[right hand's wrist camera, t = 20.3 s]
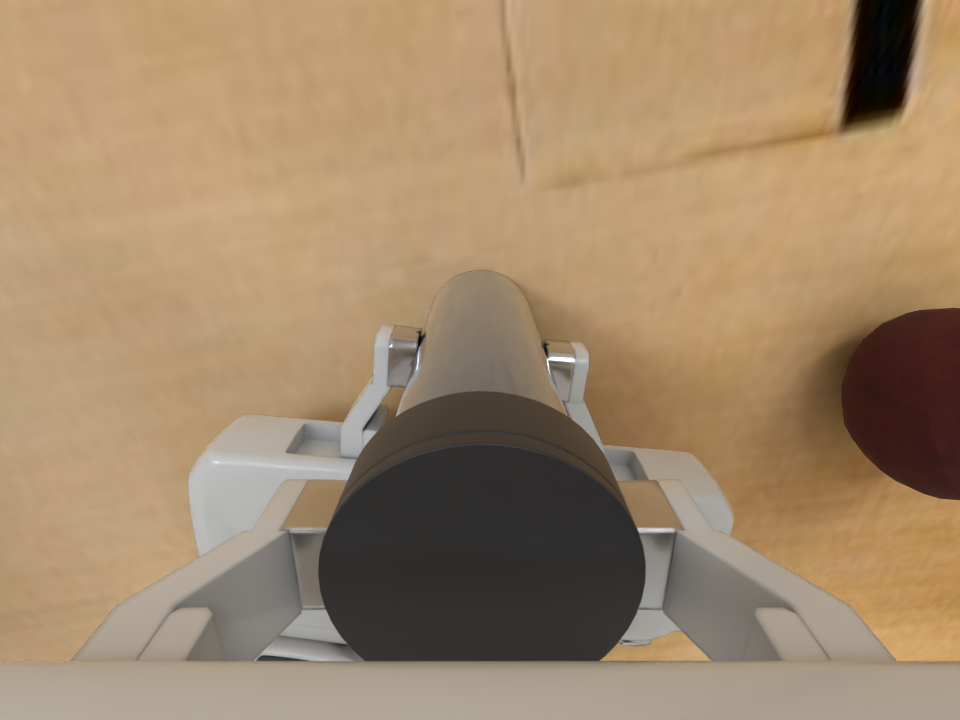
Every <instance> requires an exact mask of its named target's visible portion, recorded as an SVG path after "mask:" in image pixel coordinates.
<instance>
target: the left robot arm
mask: <svg viewBox="0 0 960 720" xmlns="http://www.w3.org/2000/svg"><path fill="white" fill-rule="evenodd" d="M421 338H422V328H414V327H405V326H396V325H386V324H382V325H381V326H380V328H379V330H378V331H377V333H376V338H375V344H374V368H373V375H372V377H371V378H370V380H369V381H368V382H367V384H366V385H365V387H364V388H363V390H362V391H361V393H360V394H359V396H358V397H357V398H356V400H355V401H354V403H353V405H352V407H351V409H350V411H349V412H348V414H347V416H346V418H345V420H344V422H335V421H323V420H312V419H300V418H288V417H276V416H266V415H256V414H247V415H243V416H241V417H239V418H237V419H236V420H235V421H233V422H232V423H231V424H230V425H229V426H228V427H227V428H226V429H224V430H223V431H222V432H221V433H220V434H219V435H218V436H217V437H216V438H215V439H214V440H213V441H212V442H211V443H210V444H209V445H208V446H207V447H206V449H205V450H204V451H203V452H202V453H201V455H200V456H199V457H198V459H197V460H196V462H195V463H194V465H193V467H192V469H191V471H190V474H189V479H188V496H189V505H190V512H191V519H192V525H193V530H194V535H195V541H196V545H197V550H198V554H199V556H201V555H203V554H204V553H206V552H208V551H210V550H211V549H213V548H215V547H216V546H218V545H220V544H222V543H223V542H225V541H227V540H228V539H230V538H232V537H233V536H235V535H237V534H239V533H240V532H242V531H251V530H252V528H253V527H254V525H255V523H256V522H257V520H258V519H259V517H260V516H261V514H262V512H263V511H264V509H265V508H266V506H267V504H268V503H269V501H270V500H271V498H272V496H273V495H274V493H275V492H276V490H277V488H278V487H279V485H280V484H281V482H282V481H284V480H287V479H309V480H311V479H321V480H348V478H349V476H350V474H351V471H352V469H353V466H354V464H355V462H356V460H357V458H358V456H359V455H360V453H361V451H362V450H363V448H364V447H365V445H366V444H367V443H368V442H369V440H370V439H371V438H372V437H373V436H374V435H375V433H376V432H378V431H379V430H380V429H381V428H382V427H383V426H384V425H385V424H386V423H388V418H389V408H388V407H387V406H386V405H380V403H381V402H382V400H383V399H384V397H385V396H386V395H387V393H388V392H389V390H390V389H391V387H392V386H393V387H405V385H406V383H407V380H408V377H409V374H410V371H411V368H412V365H413V362H414V359H415V356H416V353H417V350H418V347H419V344H420V341H421ZM542 344H543V347H544V350H545V353H546V356H547V359H548V362H549V364H550V367H551V370H552V373H553V376H554V379H555V382H556V384H557V387H558V390H559V393H560V396H561V399H562V401H563V402H564V404H565V406H566V409H567V411H568V413H569V416H570V418H571V419H572V420H573V421H574V422H576V423H577V424H578V425H580V426H581V427H582V428H583V429H584V430H585V431H586V432H587V433H588V434H589V435H590V436H591V437H592V438H593V439H594V441H595V442H596V443H597V445H598V446H599V448H600V449H601V450H602V452H603V453H604V455H605V457H606V459H607V461H608V463H609V465H610V467H611V469H612V472H613V474H614V476H615V478H616V481H633V480H659V479H679V480H681V481H682V482H683V484H684V485H685V487H686V488H687V490H688V491H689V493H690V494H691V496H692V497H693V499H694V501H695V502H696V504H697V505H698V507H699V508H700V510H701V511H702V513H703V514H704V516H705V517H706V519H707V521H708V522H709V524H710V525H711V527H712V528H713V530H714V531H723V532H725V533H727V534H728V535H730V534H731V531H732V528H733V524H734V514H733V510H732V508H731V505H730V503H729V501H728V499H727V497H726V496H725V494H724V492H723V491H722V489H721V488H720V486H719V485H718V483H717V482H716V480H715V479H714V478H713V476H712V475H711V474H710V473H709V471H708V470H707V469H706V468H705V467H704V466H703V464H702V463H701V462H700V461H699V460H698V458H696V457H695V456H694V455H692V454H691V453H688V452H683V451H674V450H662V449H650V448H638V447H626V446H615V445H603V444H602V442H601V440H600V437H599V435H598V432H597V430H596V428H595V425H594V423H593V420H592V418H591V416H590V413H589V411H588V408H587V406H586V403H585V401H584V399H583V396H584V391H585V386H586V380H587V375H588V369H589V352H588V350H587V349H586V347H585V345H584V343H582V342H571V341H560V340H548V339H544V340H543V342H542ZM301 611H302V613H301V614H300V615H299V616H298V617H297V618H296V619H295V620H294V621H293V622H292V623H291V624H290V625H289V626H288V627H287V628H286V629H285V630H284V631H283V632H282V633H281V634H280V635H279V636H278V637H277V638H276V639H275V640H274V641H273V642H272V643H271V644H270V645H269V646H268V647H267V648H266V649H265V650H264V651H263V652H262V653H261V654H260V655H259V656H258V657H257V658H256V659H255V660H254V661H364V660H363V659H362V658H361V657H360V656H359V655H357V654H356V653H355V652H354V651H353V650H352V649H351V648H350V647H349V646H348V644H347V643H346V642H345V641H344V640H343V639H342V637H341V636H340V635H339V633H338V632H337V630H336V628H335V627H334V625H333V624H332V622H331V620H330V618H329V616H328V613H327V611H326V610H301ZM673 631H676V632H677V631H681V630H680V629H679V628H678V627H677V626H676V625H675V624H674V623H673V622H672V621H671V620H670V619H669V618H668V617H667V616H666V615H665V614H664V613H663V610H638V611H637V614H636V616H635V618H634V620H633V621H632V623H631V625H630V627H629V629H628V630H627V631H626V633H625V634H624V636H623V637H622V638H621V640H620V641H619V642H618V643H620V644H622V645H627V646H644V645H649V644H650V643H651V642H652V639H656V638H660V637H663V636H665V635H667V634H669V633H671V632H673Z"/></svg>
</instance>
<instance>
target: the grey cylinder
mask: <svg viewBox="0 0 960 720" xmlns="http://www.w3.org/2000/svg"><path fill="white" fill-rule="evenodd" d="M471 391H494V392H502V393H509V394H515V395H519V396H523V397H526V398H530V399H533V400H536V401H538V402H541V403H543V404H546V405H548V406H550V407H552V408H554V409H556V410H558V411H559V412H561V413H563V414H565V415H566V416H567V413H566V410H565V407H564V404H563V401H562V399H561V396H560V393H559V390H558V387H557V384H556V382H555V379H554V376H553V373H552V370H551V367H550V364H549V362H548V359H547V356H546V353H545V350H544V347H543V344H542V342H541V339H540V336H539V333H538V330H537V327H536V324H535V322H534V319H533V316H532V313H531V310H530V307H529V304H528V302H527V299H526V297H525V295H524V294H523V292H522V291H521V289H520V288H519V287H518V286H517V285H516V284H515V283H514V282H513V281H511V280H510V279H509V278H507V277H505V276H503V275H501V274H499V273H496V272H492V271H485V270H476V271H469V272H466V273H463V274H460V275H458V276H456V277H455V278H453V279H451V280H450V281H449V282H448V283H446V284H445V285H444V286H443V287H442V289H441V290H440V291H439V293H438V294H437V296H436V298H435V300H434V303H433V306H432V309H431V312H430V315H429V318H428V321H427V324H426V327H425V329H424V332H423V335H422V338H421V341H420V344H419V347H418V350H417V353H416V356H415V359H414V362H413V365H412V368H411V371H410V374H409V377H408V380H407V383H406V385H405V388H404V391H403V394H402V397H401V400H400V403H399V406H398V409H397V412H396V415H395V417H396V416H398V415H399V414H401V413H402V412H404V411H406V410H408V409H410V408H412V407H414V406H416V405H418V404H420V403H422V402H425V401H428V400H431V399H434V398H437V397H440V396H445V395H450V394H454V393H461V392H471Z"/></svg>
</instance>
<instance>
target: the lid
mask: <svg viewBox="0 0 960 720" xmlns="http://www.w3.org/2000/svg"><path fill="white" fill-rule="evenodd" d="M318 577H319V586H320V592H321V596H322V600H323V603H324V607H325V609H326V611H327V613H328V616H329V618H330V620H331V622H332V624H333V625H334V627H335V628H336V630H337V632H338V633H339V635H340V636H341V637H342V639H343V640H344V641H345V642H346V643H347V644H348V646H349V647H350V648H351V649H352V650H353V651H354V652H355V653H356V654H357V655H359V656H360V657H361V658H362V659H363V660H364V661H599V660H601V659H602V658H603V657H604V656H606V655H607V654H608V653H609V652H610V651H611V650H612V649H613V648H614V646H615V645H616V644H617V643H618V642H619V641H620V640H621V638H622V637H623V636H624V634H625V633H626V631H627V630H628V629H629V627H630V625H631V623H632V621H633V620H634V618H635V616H636V614H637V611H638V609H639V606H640V603H641V600H642V597H643V591H644V586H645V579H646V562H645V555H644V548H643V544H642V541H641V538H640V535H639V532H638V529H637V527H636V525H635V522H634V520H633V518H632V516H631V513H630V511H629V508H628V506H627V504H626V502H625V499H624V497H623V495H622V492H621V490H620V488H619V485H618V483H617V481H616V478H615V476H614V474H613V472H612V469H611V467H610V465H609V463H608V461H607V459H606V457H605V455H604V453H603V452H602V450H601V449H600V448H599V446H598V445H597V443H596V442H595V441H594V439H593V438H592V437H591V436H590V435H589V434H588V433H587V432H586V431H585V430H584V429H583V428H582V427H581V426H580V425H578V424H577V423H576V422H574V421H573V420H572V419H570V418H569V417H568V416H566V415H565V414H563V413H561V412H559V411H558V410H556V409H554V408H552V407H550V406H548V405H546V404H543V403H541V402H538V401H536V400H533V399H530V398H526V397H523V396H519V395H515V394H509V393H502V392H494V391H471V392H461V393H454V394H450V395H445V396H440V397H437V398H434V399H431V400H428V401H425V402H422V403H420V404H418V405H416V406H414V407H412V408H410V409H408V410H406V411H404V412H402V413H401V414H399V415H398V416H396V417H395V418H393V419H392V420H390V421H389V422H388V423H386V424H385V425H384V426H383V427H382V428H381V429H380V430H379V431H378V432H376V433H375V435H374V436H373V437H372V438H371V439H370V440H369V442H368V443H367V444H366V445H365V447H364V448H363V450H362V451H361V453H360V455H359V456H358V458H357V460H356V462H355V464H354V466H353V469H352V471H351V474H350V476H349V478H348V481H347V483H346V485H345V488H344V490H343V493H342V495H341V497H340V500H339V502H338V504H337V507H336V509H335V512H334V514H333V516H332V519H331V521H330V524H329V526H328V528H327V531H326V533H325V535H324V538H323V541H322V546H321V550H320V554H319V566H318Z"/></svg>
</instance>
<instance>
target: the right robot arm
mask: <svg viewBox="0 0 960 720" xmlns="http://www.w3.org/2000/svg"><path fill="white" fill-rule="evenodd" d="M347 481H348V480H321V479H311V480H309V479H287V480H284V481H282V482H281V484H280V485H279V487H278V488H277V490H276V492H275V493H274V495H273V496H272V498H271V500H270V501H269V503H268V504H267V506H266V508H265V509H264V511H263V512H262V514H261V516H260V517H259V519H258V520H257V522H256V523H255V525H254V527H253V528H252V530H251V531H242V532H240V533H239V534H237V535H235V536H233V537H232V538H230V539H228V540H227V541H225V542H223V543H222V544H220V545H218V546H216V547H215V548H213V549H211V550H210V551H208V552H206V553H204V554H203V555H201V556H199V557H198V558H196V559H194V560H193V561H191V562H189V563H187V564H186V565H184V566H182V567H181V568H179V569H177V570H175V571H174V572H172V573H170V574H169V575H167V576H165V577H164V578H162V579H160V580H158V581H157V582H155V583H153V584H152V585H150V586H148V587H146V588H145V589H143V590H141V591H140V592H138V593H136V594H135V595H133V596H131V597H129V598H128V599H126V600H124V601H123V602H121V603H119V604H117V605H116V606H115V608H114V609H113V610H112V611H111V612H110V614H109V615H108V616H107V617H106V618H105V620H104V621H103V622H102V623H101V624H100V626H99V627H98V628H97V629H96V631H95V632H94V633H93V634H92V635H91V637H90V638H89V639H88V640H87V641H86V643H85V644H84V645H83V646H82V647H81V649H80V650H79V651H78V652H77V653H76V655H75V656H74V657H73V658H72V660H71V661H0V720H960V661H896V659H895V658H894V657H893V656H892V655H891V653H890V652H889V651H888V650H887V649H886V647H885V646H884V645H883V644H882V643H881V641H880V640H879V639H878V638H877V637H876V635H875V634H874V633H873V632H872V631H871V629H870V628H869V627H868V626H867V625H866V623H865V622H864V621H863V620H862V619H861V618H860V616H859V615H858V614H857V613H856V612H855V610H854V609H853V608H852V607H851V606H850V605H848V604H847V603H845V602H843V601H842V600H840V599H838V598H836V597H835V596H833V595H831V594H830V593H828V592H826V591H824V590H823V589H821V588H819V587H818V586H816V585H814V584H812V583H811V582H809V581H807V580H806V579H804V578H802V577H800V576H799V575H797V574H795V573H794V572H792V571H790V570H788V569H787V568H785V567H783V566H781V565H780V564H778V563H776V562H775V561H773V560H771V559H769V558H768V557H766V556H764V555H763V554H761V553H759V552H757V551H756V550H754V549H752V548H751V547H749V546H747V545H745V544H744V543H742V542H740V541H739V540H737V539H735V538H733V537H732V536H730V535H728V534H727V533H725V532H723V531H714V530H713V528H712V527H711V525H710V524H709V522H708V521H707V519H706V517H705V516H704V514H703V513H702V511H701V510H700V508H699V507H698V505H697V504H696V502H695V501H694V499H693V497H692V496H691V494H690V493H689V491H688V490H687V488H686V487H685V485H684V484H683V482H682V481H681V480H679V479H659V480H633V481H617V483H618V485H619V488H620V490H621V492H622V495H623V497H624V499H625V502H626V504H627V506H628V508H629V511H630V513H631V516H632V518H633V520H634V522H635V525H636V527H637V529H638V532H639V535H640V538H641V541H642V544H643V548H644V555H645V562H646V579H645V586H644V591H643V597H642V600H641V603H640V606H639V609H638V610H663V613H664V614H665V615H666V616H667V617H668V618H669V619H670V620H671V621H672V622H673V623H674V624H675V625H676V626H677V627H678V628H679V629H680V630H681V631H682V632H683V633H684V634H685V635H686V636H687V637H688V638H689V639H690V640H691V641H692V642H693V643H694V644H695V645H696V646H697V647H699V648H700V649H701V650H702V651H703V652H704V653H705V654H706V655H707V656H708V657H709V658H710V659H711V660H712V661H254V660H255V659H256V658H257V657H258V656H259V655H260V654H261V653H262V652H263V651H264V650H265V649H266V648H267V647H268V646H269V645H270V644H271V643H272V642H273V641H274V640H275V639H276V638H277V637H278V636H279V635H280V634H281V633H282V632H283V631H284V630H285V629H286V628H287V627H288V626H289V625H290V624H291V623H292V622H293V621H294V620H295V619H296V618H297V617H298V616H299V615H300V614H301V613H302V611H301V610H326V609H325V607H324V603H323V600H322V596H321V592H320V586H319V577H318V566H319V554H320V550H321V546H322V541H323V538H324V535H325V533H326V531H327V528H328V526H329V524H330V521H331V519H332V516H333V514H334V512H335V509H336V507H337V504H338V502H339V500H340V497H341V495H342V493H343V490H344V488H345V485H346V483H347Z"/></svg>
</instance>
